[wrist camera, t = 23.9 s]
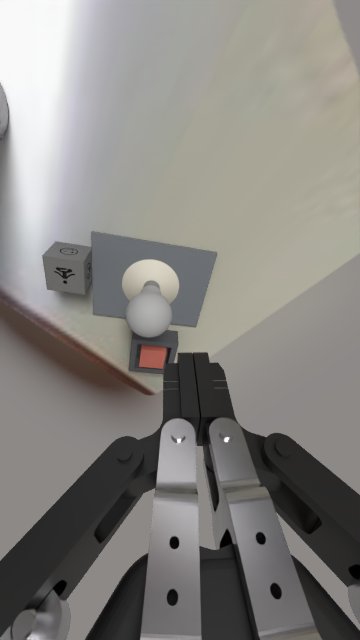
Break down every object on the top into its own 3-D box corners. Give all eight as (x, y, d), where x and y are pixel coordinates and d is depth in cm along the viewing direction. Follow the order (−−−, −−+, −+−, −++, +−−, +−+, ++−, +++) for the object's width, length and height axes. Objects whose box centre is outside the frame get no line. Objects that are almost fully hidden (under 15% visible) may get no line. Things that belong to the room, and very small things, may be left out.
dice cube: (92, 247, 37) (83, 261, 33) (93, 277, 40) (84, 294, 36) (56, 241, 36) (42, 255, 32) (59, 272, 39) (47, 289, 35)
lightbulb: (158, 306, 43) (156, 353, 34) (125, 290, 40) (114, 335, 32) (178, 279, 40) (182, 322, 31) (144, 259, 37) (137, 300, 29)
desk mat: (93, 312, 43) (92, 314, 43) (92, 231, 35) (91, 232, 35) (195, 325, 46) (196, 327, 46) (216, 252, 38) (217, 253, 37)
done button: (140, 357, 48) (139, 366, 47) (142, 340, 46) (141, 349, 44) (162, 359, 49) (162, 368, 47) (166, 342, 47) (166, 351, 45)
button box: (130, 357, 50) (128, 370, 48) (133, 326, 46) (131, 339, 43) (170, 361, 52) (170, 374, 49) (177, 331, 47) (178, 344, 44)
